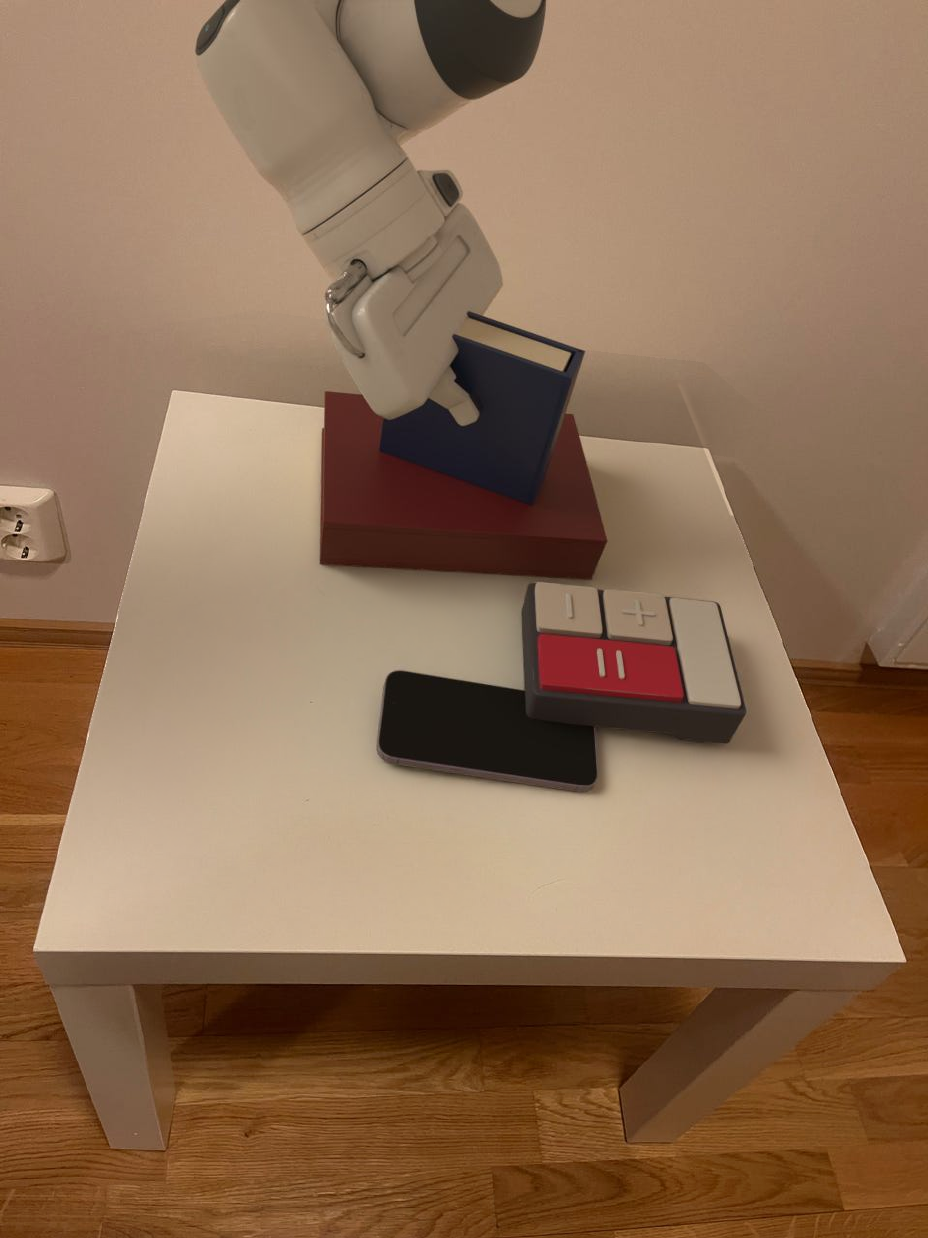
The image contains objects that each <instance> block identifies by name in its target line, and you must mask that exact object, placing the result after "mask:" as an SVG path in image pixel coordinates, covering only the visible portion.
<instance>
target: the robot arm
mask: <svg viewBox="0 0 928 1238" xmlns="http://www.w3.org/2000/svg"><path fill="white" fill-rule="evenodd" d="M546 9H547V0H225V1H224V2H223V3H222V4H221V5H220V6H219V7H218V8H217V9H216V11H215V12H214V13H213V14H212V15H211V17H209V18H208V19H207V21H206V22H205V23H204V24H203V26H202V27H201V29H200V30H199V33H198V35H197V38H196V41H195V42H196V43H195V49H194V54H195V59H196V64H197V66H198V69H199V72H200V75H201V79H202V80H203V83H204V84H205V87H206V89H207V91H208V92H209V95H210V97H211V99H212V101H213V103H214V104H215V106H216V108H217V110H218V111H219V114H220V116H221V117H222V118H223V120H224V122H225V123H226V125H227V127H228V128H229V130H230V132H231V133H232V135H233V137H234V138H235V140H236V141H237V143H238V144H239V146H240V147H241V149H242V151H243V152H244V153H245V155H246V157H247V158H248V159H249V161H250V162H251V164H252V165H253V167H254V168H255V169H256V171H257V172H258V174H259V175H260V176H261V177H262V178H263V179H264V181H266V182H267V183H268V184H269V185H271V186H272V187H273V188H274V189H275V190H276V191H277V193H278V194H279V195H280V196H281V197H282V199H283V200H284V201H285V203H286V205H287V207H288V209H289V211H290V213H291V216H292V219H293V221H294V224H295V228H296V229H297V231H298V233H299V234H300V235H301V237H302V238H303V240H304V241H305V243H306V244H307V246H308V247H309V249H310V250H311V252H312V253H313V255H314V257H315V258H316V259H317V261H318V262H319V263H320V266H322V268H323V269H324V271H325V272H326V274H327V275H328V276H329V278H330V280H331V281H332V283H331V284H329V286H328V287H327V288H326V291H325V293H324V299H325V301H326V303H325V311H326V316H325V320H326V324H327V325H328V327H329V328H330V334H331V339H332V341H333V344H334V346H335V349H336V351H337V353H338V355H339V357H340V359H341V361H342V363H343V364H344V366H345V368H346V369H347V371H348V373H349V375H350V377H351V378H352V380H353V381H354V383H355V386H356V387H357V388H358V390H359V391H360V393H361V394H362V395H363V396H364V398H365V399H366V401H367V403H368V404H369V406H370V407H371V408H372V410H373V411H374V412H375V413H376V414H378V415H379V416H381V417H383V418H386V419H388V420H392V419H395V418H397V417H399V416H402V415H404V414H406V413H408V412H410V411H412V410H414V409H416V408H418V407H420V406H422V405H423V404H424V403H425V402H426V400H427V399H428V398H430V399H432V400H433V401H435V402H436V403H438V404H440V405H441V406H443V407H445V408H446V409H448V410H449V411H450V413H451V414H452V416H453V417H454V418H455V420H456V421H457V423H458V424H459V425H461V426H466V425H468V424H471V423H473V422H475V421H476V420H477V419H478V417H479V415H480V414H481V412H482V410H483V405H482V404H481V402H480V401H479V400H478V397H477V396H476V394H475V393H474V391H473V390H472V391H470V392H466V391H465V390H463V389H462V388H461V387H460V386H459V385H458V384H457V383H455V382H454V380H455V379H456V375H455V373H454V372H453V370H452V369H451V367H450V364H451V363H452V361H453V360H454V358H455V357H456V355H457V354H458V351H459V350H458V347H457V345H456V342H455V341H454V339H453V338H452V336H453V334H456V335H458V333H459V332H460V330H461V328H462V327H463V325H464V324H465V322H466V321H467V319H468V318H469V317H468V315H467V312H468V311H470V312H473V313H476V314H479V315H482V316H484V315H485V313H486V312H487V310H488V309H489V307H490V306H491V304H493V301H494V300H495V298H496V297H497V296H498V294H499V292H500V291H501V289H502V288H503V286H504V280H503V274H502V271H501V270H502V269H501V266H500V263H499V261H498V259H497V257H496V255H495V253H494V251H493V249H492V247H491V245H490V243H489V242H488V239H487V238H486V235H485V233H484V232H483V229H482V228H481V227H480V225H479V223H478V221H477V220H476V218H475V216H474V215H473V214H472V212H471V210H469V208H468V207H467V206H466V205H465V204H463V203H461V202H460V201H461V200H462V198H463V196H464V191H463V188H462V185H461V183H460V182H459V179H458V178H457V177H456V175H455V174H454V173H453V171H451V170H450V169H436V170H435V169H434V170H426V169H418V170H417V169H416V168H415V166H414V164H413V162H412V161H411V159H410V157H409V156H408V154H407V153H406V151H405V150H404V148H403V147H402V146H403V145H404V144H405V143H408V142H409V141H410V140H412V139H413V138H416V137H417V136H418V135H420V134H421V133H423V132H424V131H426V130H430V129H431V128H433V127H435V126H437V125H438V124H440V123H441V122H443V121H444V120H446V119H447V118H449V117H450V116H452V115H453V114H455V113H456V112H458V111H459V110H461V109H462V108H464V107H465V106H467V105H468V104H470V103H471V102H473V101H476V100H479V99H481V98H484V97H486V96H488V95H489V94H492V93H494V92H496V91H498V90H500V89H502V88H505V87H506V86H508V85H510V84H512V83H514V82H516V81H518V80H520V79H522V78H523V77H524V76H525V75H526V74H527V73H528V71H530V69H531V67H532V65H533V63H534V61H535V59H536V56H537V53H538V50H539V46H540V43H541V39H542V35H543V31H544V27H545V26H544V25H545V18H546Z"/></svg>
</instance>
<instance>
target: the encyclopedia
mask: <svg viewBox="0 0 928 1238" xmlns="http://www.w3.org/2000/svg"><path fill="white" fill-rule="evenodd" d="M323 398H324V399H323V400H324V401H323V402H324V404H323V427H322V428H321V446H320V447H321V454H320V513H319V514H320V515H319V517H320V518H319V520H320V522H319V525H320V526H319V529H320V530H319V565H331V566H345V567H346V566H347V567H364V568H366V567H368V568H384V569H399V570H400V569H403V570H420V571H437V572H452V573H453V572H454V573H468V574H469V573H470V574H486V575H487V574H488V575H505V576H506V575H507V576H523V577H524V576H525V577H540V578H542V577H543V578H560V579H574V580H575V579H578V580H593V577H594V574H595V572H596V570H597V567H598V565H599V562H600V561H601V558H602V555H603V553H604V551H605V548H606V546H607V544H608V536H607V532H606V530H605V525H604V522H603V518H602V514H601V512H600V511H601V510H600V507H599V504H598V500H597V496H596V492H595V488H594V485H593V481H592V477H591V474H590V471H589V466H588V463H587V459H586V456H585V452H584V448H583V445H582V441H581V437H580V433H579V430H578V426H577V423H576V418H575V415H574V413H567V412H566V413H565V416H564V420H563V423H562V426H561V429H560V432H559V435H558V438H557V441H556V445H555V448H554V451H553V454H552V457H551V460H550V463H549V467H548V470H547V473H546V476H545V479H544V481H543V483H542V485H541V488H540V490H539V492H538V495H537V497H536V499H535V501H534V504H533V506H531V505H528V504H526V503H523V502H520V501H517V500H515V499H512V498H509V497H506V496H504V495H501V494H498V493H495V492H492V491H490V490H487V489H484V488H481V487H479V486H476V485H473V484H470V483H467V482H465V481H462V480H459V479H456V478H454V477H451V476H448V475H445V474H442V473H440V472H437V471H434V470H431V469H429V468H426V467H423V466H420V465H418V464H415V463H412V462H409V461H406V460H404V459H401V458H398V457H395V456H393V455H390V454H387V453H384V452H381V451H379V446H380V439H381V431H382V424H383V417H381V416H379V415H378V414H376V413H375V412H374V411H373V410H372V408H371V407H370V406H369V404H368V403H367V401H366V399H365V398H364V396H363V395H362V393H361V394H360V393H351V392H340V391H328V390H325V391H324V397H323Z"/></svg>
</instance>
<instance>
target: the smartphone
mask: <svg viewBox="0 0 928 1238" xmlns="http://www.w3.org/2000/svg"><path fill="white" fill-rule="evenodd" d="M378 721H379V722H378V730H377V736H376V743H375V744H376V746H375V749H376V754H377V755H378V757H379V758H380V759H381V760H382V761H383V762H385V763H387V764H391V765H398V766H402V767H403V766H405V767H410V768H411V767H412V768H417V769H423V770H424V769H426V770H432V771H437V772H444V773H452V774H458V775H463V776H464V775H465V776H470V777H471V776H472V777H478V778H484V779H490V780H498V781H504V782H510V783H517V784H524V785H532V786H537V787H544V788H551V789H558V790H564V791H571V792H576V793H577V792H578V793H579V792H580V793H585V792H589V791H591V790H592V789H593V788H594V786H595V785H596V783H597V782H598V778H599V769H598V767H599V766H598V752H597V751H598V750H597V736H596V735H597V734H596V726H586V725H575V724H566V723H559V722H552V721H545V720H538V719H532V718H530V717H528V716H527V714H526V699H525V690H524V689H518V688H514V687H507V686H501V685H494V684H490V683H489V684H488V683H483V682H476V681H470V680H463V679H457V678H451V677H445V676H440V675H434V674H427V673H422V672H416V671H410V670H409V671H408V670H403V669H402V670H401V669H400V670H393V671H391V672H389V673H388V674H387V675H386V677H385V679H384V683H383V688H382V696H381V704H380V710H379V720H378Z"/></svg>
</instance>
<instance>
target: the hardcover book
mask: <svg viewBox="0 0 928 1238" xmlns="http://www.w3.org/2000/svg"><path fill="white" fill-rule="evenodd" d="M467 315H468V317H469V318H468V319H467V321H466V322H465V324H464V325H463V327H462V328H461V330H460V332H459V333H458V335H456V334H453V336H452V338H453V339H454V341H455V342H456V345H457V347H458V350H459V351H458V354H457V355H456V357H455V358H454V360H453V361H452V363H451V364H450V367H451V369H452V370H453V372H454V373H455V375H456V379H455V380H454V382H455V383H457V384H458V385H459V386H460V387H461V388H462V389H463V390H465V391H466V392H470V391H472V390H473V391H474V393H475V394H476V396H477V397H478V400H479V401H480V402H481V404H482V405H483V410H482V412H481V414H480V415H479V417H478V419H477V420H476V421H475V422H473V423H471V424H468V425H466V426H461V425H459V424H458V423H457V421H456V420H455V418H454V417H453V416H452V414H451V413H450V411H449V410H448V409H446V408H445V407H443V406H441V405H440V404H438V403H436V402H435V401H433V400H432V399H430V398H428V399H427V400H426V402H425V403H424V404H423V405H422V406H420V407H418V408H416V409H414V410H412V411H410V412H408V413H406V414H404V415H402V416H399V417H397V418H395V419H392V420H388V419H386V418H383V424H382V431H381V439H380V446H379V451H381V452H384V453H387V454H390V455H393V456H395V457H398V458H401V459H404V460H406V461H409V462H412V463H415V464H418V465H420V466H423V467H426V468H429V469H431V470H434V471H437V472H440V473H442V474H445V475H448V476H451V477H454V478H456V479H459V480H462V481H465V482H467V483H470V484H473V485H476V486H479V487H481V488H484V489H487V490H490V491H492V492H495V493H498V494H501V495H504V496H506V497H509V498H512V499H515V500H517V501H520V502H523V503H526V504H528V505H531V506H533V504H534V501H535V499H536V497H537V495H538V492H539V490H540V488H541V485H542V483H543V481H544V479H545V476H546V473H547V470H548V467H549V463H550V460H551V457H552V454H553V451H554V448H555V445H556V441H557V438H558V435H559V432H560V429H561V426H562V423H563V420H564V416H565V413H566V414H567V410H568V407H569V404H570V401H571V397H572V394H573V391H574V389H575V386H576V385H575V384H576V381H577V378H578V376H579V372H580V369H581V367H582V363H583V359H584V356H585V354H586V350H584V349H580V348H577V347H575V346H571V345H569V344H566V343H563V342H560V341H557V340H554V339H552V338H549V337H547V336H546V337H545V336H543V335H540V334H538V333H537V334H536V333H534V332H531V331H528V330H526V329H522V328H519V327H516V326H513V325H511V324H508V323H505V322H502V321H499V320H496V319H493V318H490V317H488V316H484V315H483V316H482V315H479V314H476V313H473V312H470V311H468V312H467Z"/></svg>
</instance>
